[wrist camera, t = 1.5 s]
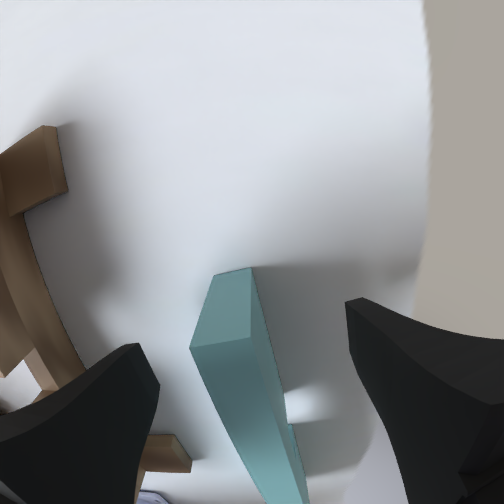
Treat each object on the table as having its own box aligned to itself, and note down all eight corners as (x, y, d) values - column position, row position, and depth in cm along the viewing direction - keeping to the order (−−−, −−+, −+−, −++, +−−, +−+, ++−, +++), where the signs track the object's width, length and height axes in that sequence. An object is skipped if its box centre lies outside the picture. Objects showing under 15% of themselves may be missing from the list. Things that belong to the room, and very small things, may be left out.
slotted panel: (305, 477, 16) (313, 534, 11) (284, 481, 16) (289, 538, 11) (251, 267, 11) (250, 336, 7) (213, 275, 12) (188, 347, 7)
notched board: (192, 461, 15) (181, 523, 10) (96, 455, 16) (75, 503, 11) (55, 127, 10) (-27, 119, 5) (-32, 189, 10) (-94, 204, 5)
